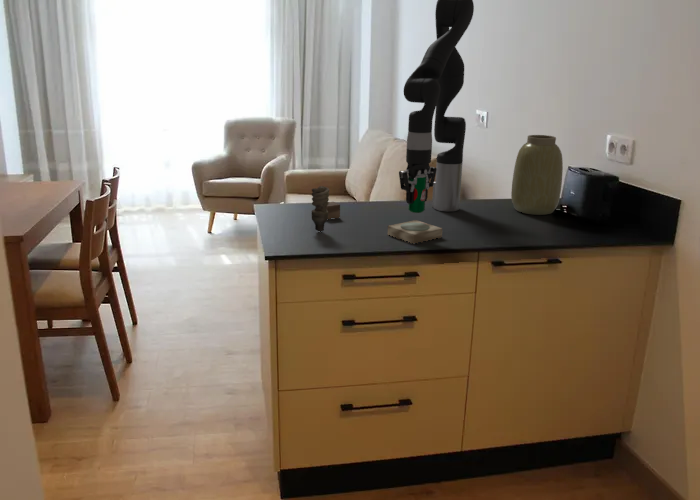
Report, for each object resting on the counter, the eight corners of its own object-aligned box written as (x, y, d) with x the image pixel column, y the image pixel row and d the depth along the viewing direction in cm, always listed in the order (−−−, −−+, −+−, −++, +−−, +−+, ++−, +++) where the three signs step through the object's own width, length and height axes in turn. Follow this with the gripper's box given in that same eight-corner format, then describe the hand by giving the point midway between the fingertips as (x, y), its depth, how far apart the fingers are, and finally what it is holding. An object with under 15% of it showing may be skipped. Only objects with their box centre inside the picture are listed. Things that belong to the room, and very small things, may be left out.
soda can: (423, 213, 191) (425, 174, 187) (407, 212, 192) (408, 174, 188) (425, 209, 195) (427, 171, 192) (409, 208, 196) (410, 170, 193)
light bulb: (331, 231, 200) (332, 185, 195) (325, 236, 195) (325, 188, 190) (315, 229, 202) (315, 183, 197) (308, 234, 197) (308, 187, 192)
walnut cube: (327, 206, 211) (327, 220, 213) (340, 204, 214) (339, 218, 215) (320, 203, 215) (320, 217, 217) (332, 201, 218) (332, 215, 219)
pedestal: (387, 234, 197) (387, 225, 196) (415, 228, 204) (415, 219, 203) (413, 244, 188) (414, 234, 187) (441, 237, 195) (442, 227, 194)
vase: (520, 202, 241) (527, 132, 233) (564, 209, 232) (573, 136, 223) (502, 211, 228) (509, 136, 220) (548, 219, 218) (558, 141, 210)
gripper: (427, 143, 195) (424, 197, 200) (392, 147, 186) (391, 203, 191) (445, 146, 189) (441, 201, 194) (410, 150, 180) (407, 207, 186)
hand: (416, 202), depth 193 cm, fingers closed on soda can, 5 cm apart
